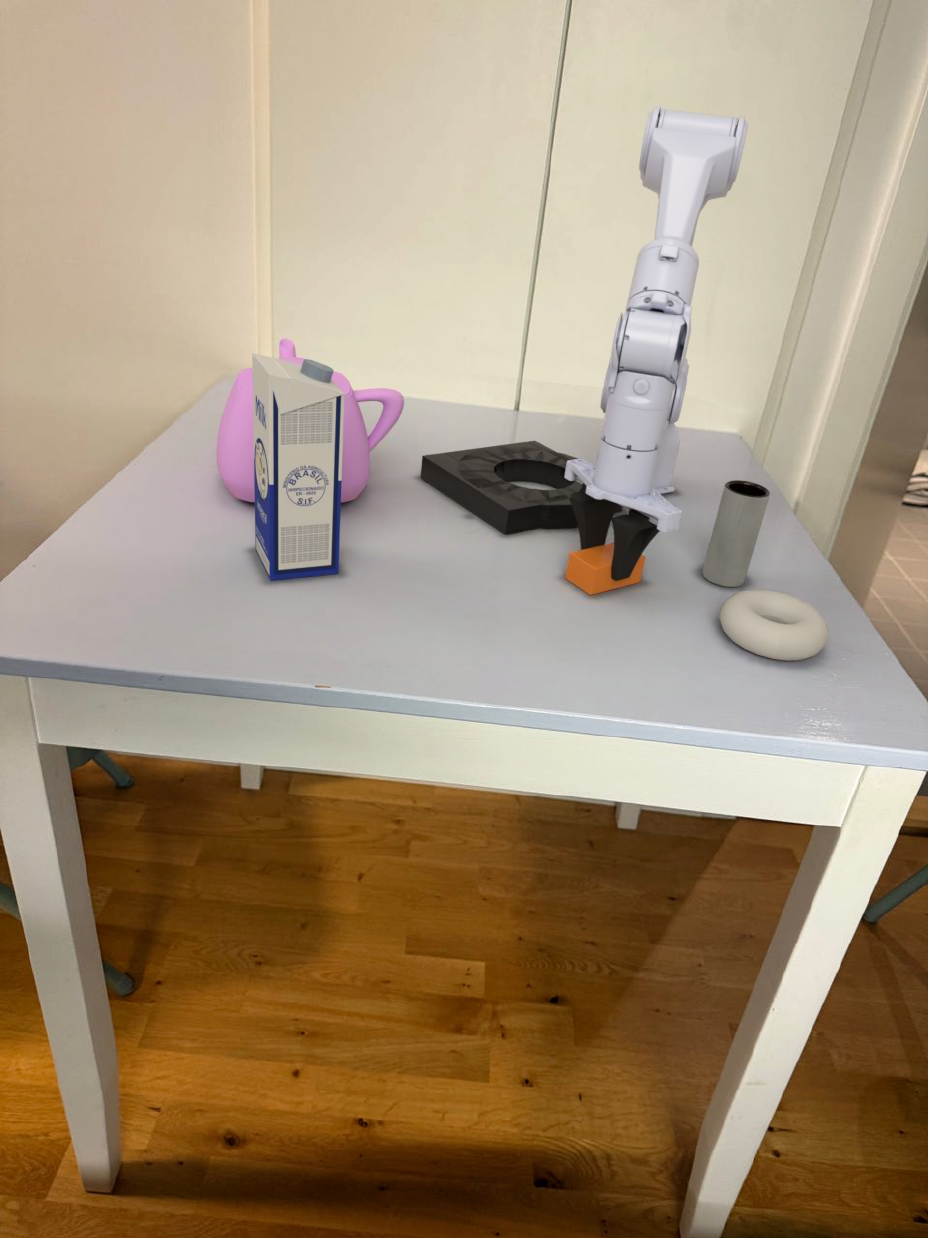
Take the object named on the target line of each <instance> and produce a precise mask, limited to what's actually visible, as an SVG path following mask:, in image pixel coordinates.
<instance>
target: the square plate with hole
mask: <svg viewBox="0 0 928 1238" xmlns="http://www.w3.org/2000/svg"><path fill="white" fill-rule="evenodd" d="M575 459H579V458H578V457H575V456H572V455H569V454H566V453H562V452H558V451H555V450H554V449H552V448H550V447H548V446H546V445H544V444H542V443H541V442H538V441H537V440H528V441H521V442H514V443H513V442H512V443H507V444H505V443H504V444H499V445H491V446H484V447H475V448H469V449H468V448H467V449H462V450H453V451H446V452H440V453H432V454H424V455H422V456H421V468H420V479H421V480H423V481H424V482H426V483H427V484H429V485H430V486H432V487H433V488H435V489H436V490H437V491H439V492H441V493H442V494H444V495H445V496H447V497H448V498H449V499H451V500H452V501H454V502H456V504H459V505H460V506H461V507H463V508H464V509H466V510H467V511H469V512H471V514H473V515H475V516H477V517H478V518H479V519H481V520H482V521H483V522H485V523H487V524H488V525H490V526H491V527H492V528H494V529H496V530H497V531H499V532H500V533H502V534H503V535H506V536H507V535H512V534H517V533H522V532H527V531H531V530H536V529H543V530H557V529H574V528H578V523H577V519H576V515H575V512H574V509H573V507H572V504H571V502H570V495H571V494H572V493H574V492H579V491H580V489H581V488H582V484H581V483H579V482H577V481H569V480H567V479H565V478H564V476H565V470H566V464H567V461H568V460H575ZM511 482H529V483H530V482H532V483H537V484H542V485H547V486H549V487H552V488H555V489H538V488H530V487H526V486H520V485H517V484H514V483H511ZM623 509H624V507H623V506H621V505H618V506H617V509H616V511H615V513H620V512H622V511H623ZM615 513H614V514H615Z"/></svg>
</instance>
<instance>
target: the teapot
mask: <svg viewBox="0 0 928 1238" xmlns="http://www.w3.org/2000/svg"><path fill="white" fill-rule="evenodd" d="M278 343H279V344H278V349H279V350H278V351H279V352H278V353H279V354H278V358H279V359H282V360H285V361H289V362H292V363H295V364H299V365H302V364H303V361H304V359H305V358H303V357H297V351H296V346H295V343H294V342H293V340H291V339H289V338H282V339H280V340H279V342H278ZM331 380H332V381H333V382H334V383H335V384H336V385H337V386H338V387H339V388H340V389H341V390H342V391H343V392H344V393H345V399H344V427H343V456H342V484H341V504H342V503H346V502H351V501H353V500H355V499H357V498H358V497H359V495H360V494H361V493H362V491H363V490H364V488H365V487H366V486H367V483H368V482H369V478H370V474H371V454H370V453H372V451H373V450H374V449H375V448H376V447H377V445H379V444H380V443H381V442H382V440H383V439H384V438H385V437H386V436H387V435H388V434H389V432H390V431H391V430H392V428H394V426H395V425H396V424H397V422H398V421H399V419H400V417H401V415H402V412H403V410H404V405H405V398H404V396H403V394H402V393H401V392H400V391H398V390H396V389H393V388H385V387H384V388H383V387H379V388H375V387H374V388H365V389H358V390H357V389H356V390H353V387H352V384H351V383H350V380H349V379H348V378H347V377H346V376H345V375H344V374H343V373H341V372H338V371H335V370H334V371H333V374H332V378H331ZM363 402H365V403H366V402H378V403H381V404H382V411H381V414H380V416H379V418H378V421H377V423H376V424H375V426H374V428H373V429H372V431H371V432H370V434H369V435H368V431H367V427H366V423H365V420H364V416H363V413H362V411H361V410H362V409H361V407H360V404H359V403H363ZM216 466H217V470H218V473H219V476H220V478H221V480H222V482H223V483H224V486H225V487H226V489H227V490H228V491H229V493H230V494H231V496H233V497H234V498H236V499H238V500H241V501H245V502H249V503H254V504H255V488H254V427H253V367H247V368H243V369H241V370H240V371H239V372H238V373H237V375H236V378H235V380H234V382H233V385H232V387H231V390H230V392H229V396H228V398H227V400H226V403H225V405H224V407H223V411H222V414H221V418H220V423H219V428H218V434H217V439H216Z"/></svg>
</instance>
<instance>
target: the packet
mask: <svg viewBox="0 0 928 1238" xmlns="http://www.w3.org/2000/svg"><path fill="white" fill-rule="evenodd" d="M613 553H614V542H610V543H605V545H601V546H597V547H592V548H588V549H583V550H581V549H580V550H579V549H578V550H575V551H571V552H569V554H568V561H567V566H566V571H565V577H564V578H565V579H566V580H568V582H570V583H572V584H573V585H574V586H576V587H577V588H579V589H580V590H582V591H583V592H585V593H586V594H588V595H589V596H594V595H597V594H600V593H605V592H609V591H611V590H615V589H619V588H623V587H627V586H632V585H634V584H639V583H641V580H642V576H643V572H644V571H643V570H644V567H645V562H646V558H647V556H646V555H644V554H642V555H641V556H640V558H639V560H638V561H637V563H636V565H635V567H634V569H633V571H632V573H631V575H630V577H629V578H626V579H622V580H618V581H615V580H613V579H612V578H611V565H612V559H613Z"/></svg>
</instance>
